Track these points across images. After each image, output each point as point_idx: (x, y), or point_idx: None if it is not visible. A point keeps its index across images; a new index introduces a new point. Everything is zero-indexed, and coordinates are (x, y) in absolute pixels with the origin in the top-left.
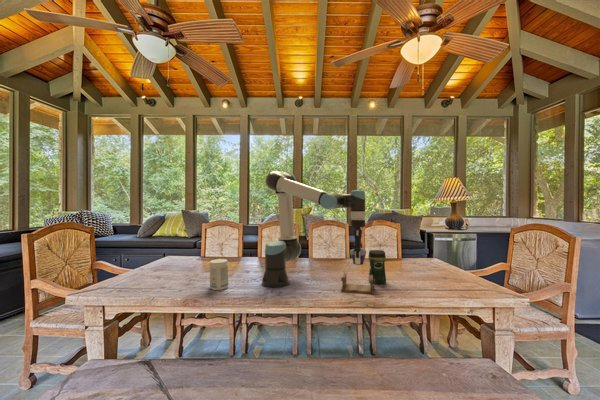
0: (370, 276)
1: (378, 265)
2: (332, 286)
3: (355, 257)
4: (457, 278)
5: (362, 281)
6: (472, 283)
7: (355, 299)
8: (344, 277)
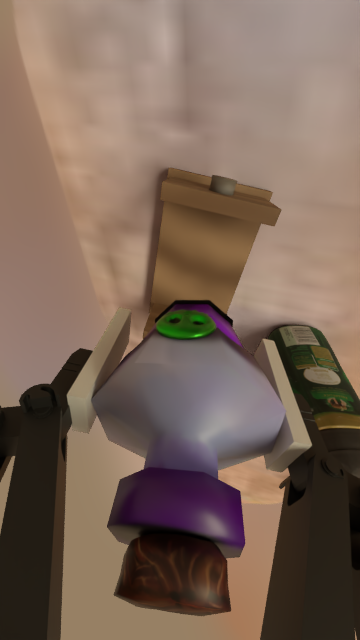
0: (289, 343)
1: None
2: (262, 108)
3: (98, 346)
4: (279, 489)
5: (316, 300)
6: (241, 489)
7: (77, 228)
8: (161, 197)
